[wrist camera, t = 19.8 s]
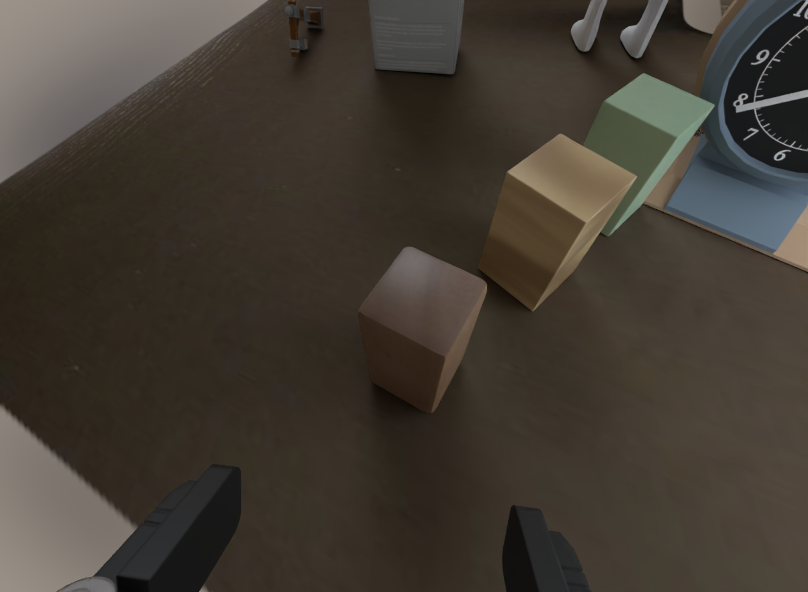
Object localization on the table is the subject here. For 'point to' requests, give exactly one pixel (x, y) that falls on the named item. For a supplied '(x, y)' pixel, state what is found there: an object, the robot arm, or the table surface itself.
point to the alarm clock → (749, 134)
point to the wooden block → (419, 326)
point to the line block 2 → (644, 135)
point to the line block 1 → (550, 217)
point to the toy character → (630, 37)
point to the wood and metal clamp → (305, 15)
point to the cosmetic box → (416, 34)
